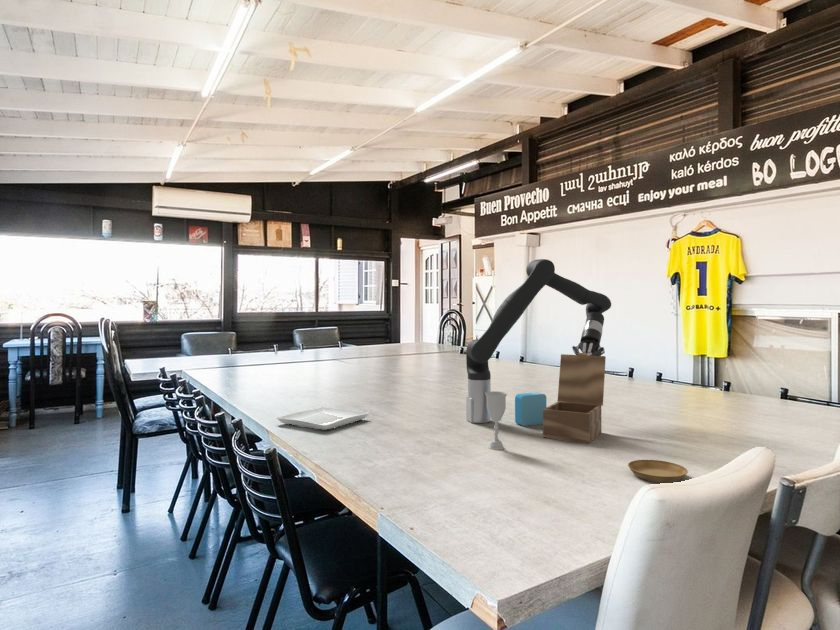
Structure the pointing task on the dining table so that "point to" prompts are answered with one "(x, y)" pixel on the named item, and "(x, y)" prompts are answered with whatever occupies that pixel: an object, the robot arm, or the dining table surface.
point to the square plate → (347, 414)
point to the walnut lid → (581, 379)
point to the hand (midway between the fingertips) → (584, 366)
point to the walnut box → (572, 421)
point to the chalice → (496, 414)
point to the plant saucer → (657, 470)
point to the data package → (529, 408)
